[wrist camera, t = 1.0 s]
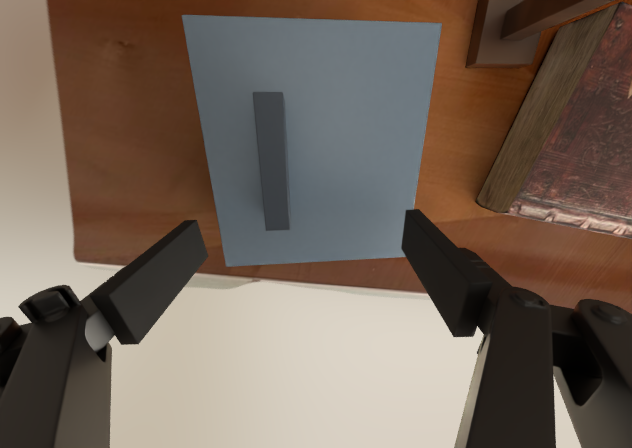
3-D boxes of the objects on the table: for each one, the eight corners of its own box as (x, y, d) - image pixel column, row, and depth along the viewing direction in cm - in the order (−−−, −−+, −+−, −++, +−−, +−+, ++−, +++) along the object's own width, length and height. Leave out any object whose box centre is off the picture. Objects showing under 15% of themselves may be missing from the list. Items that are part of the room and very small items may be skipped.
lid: (187, 20, 14) (149, -21, 10) (435, 28, 15) (479, -6, 11) (228, 262, 20) (213, 289, 16) (402, 252, 21) (424, 276, 17)
